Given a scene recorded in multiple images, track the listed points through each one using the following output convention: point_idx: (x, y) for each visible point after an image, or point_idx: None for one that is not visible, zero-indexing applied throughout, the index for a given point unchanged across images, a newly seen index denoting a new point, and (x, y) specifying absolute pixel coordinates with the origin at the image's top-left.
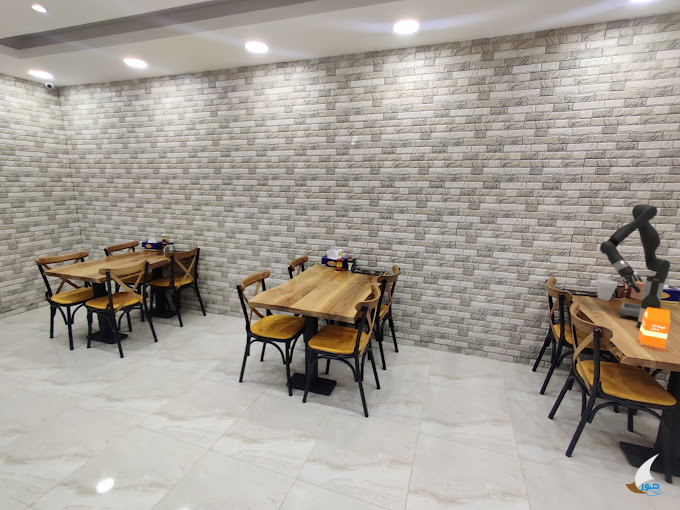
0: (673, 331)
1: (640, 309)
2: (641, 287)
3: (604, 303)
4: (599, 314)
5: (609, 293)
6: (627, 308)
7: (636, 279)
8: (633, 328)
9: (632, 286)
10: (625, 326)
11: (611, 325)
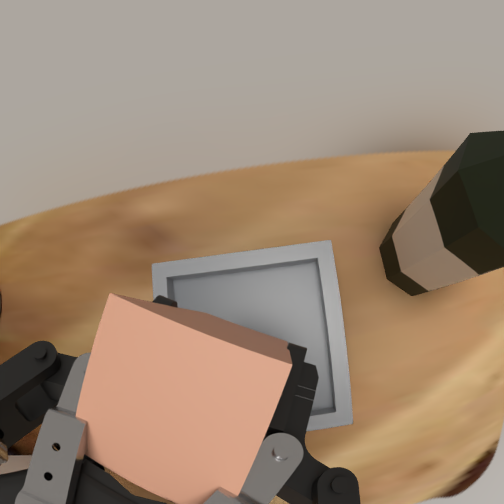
0: (332, 160)
1: (490, 271)
2: (279, 351)
3: None
4: (361, 479)
5: None
6: (343, 385)
7: (74, 488)
8: (460, 296)
9: (319, 472)
10: (462, 330)
11: (494, 373)
